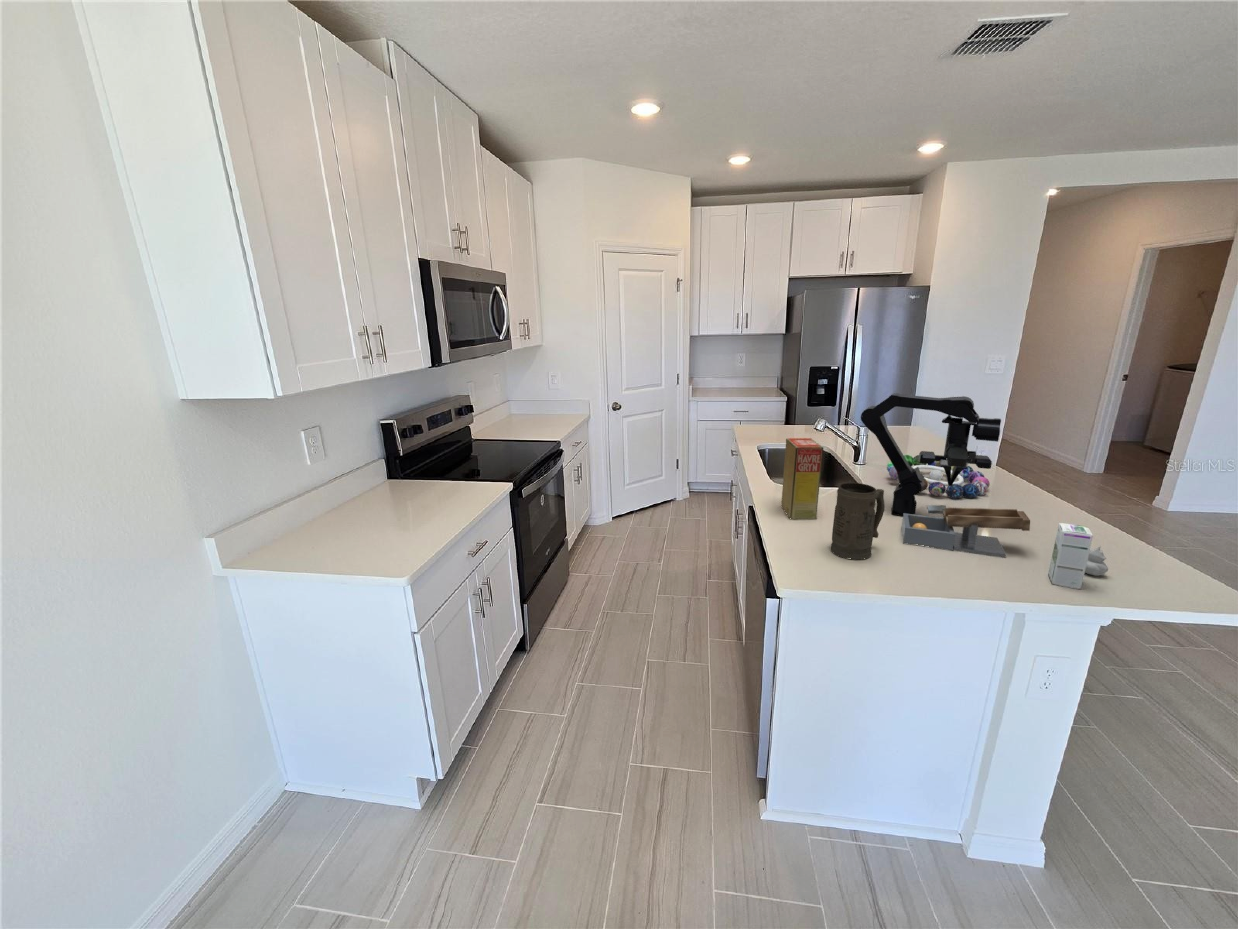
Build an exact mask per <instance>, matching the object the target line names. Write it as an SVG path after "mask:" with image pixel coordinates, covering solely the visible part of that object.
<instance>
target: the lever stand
mask: <svg viewBox="0 0 1238 929" xmlns="http://www.w3.org/2000/svg"><path fill="white" fill-rule="evenodd" d="M978 530H979V528H978V524H971V525H970V527H962V532H956V531H954V532H955V540H954V546H953V551H954V550H955V551H956V552H961V551H964V552H963V553H968V552H969V553H970V554H976V555H984V556H989V557H991V556H992V557H998V558H1002V559H1003V558H1005V559H1006V558H1007V554H1006V552H1005V549H1004V548H1003V546H1002V544H1001V542H1000V540H999V538H998V537H995V536H988V535H987V536H986V535H979V534H978ZM969 553H968V554H969Z"/></svg>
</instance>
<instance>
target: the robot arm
mask: <svg viewBox="0 0 1238 929" xmlns="http://www.w3.org/2000/svg"><path fill="white" fill-rule="evenodd" d="M896 407H899V408H905V409H906V408H908V409H915V410H925V411H932V412H934V411H935V412H940V413H942V414H945V415H947V416H946V417H944V418H942V421H941V423H942V424H948V426H947V431H946V432H947V433H946V439H945V446H944V451H943V455H939V454H936V453H935V452H934V451H928V450H921V451H920V452H919V453H918V455H919V462H920V463H925V464H926V465H928V464H932V463H934V462H935V461H939V465H940V467H942V468H944V470H945V473H944V474H945V475H946V477H945V478H946V482H948V486H952V484H953V482H956V479H957V476H958V475H959V473H960V472H961V471H962V470H964V469H968V467H967V466H969V464H971V465H975V466H977V468H978V469H985V470H986V469H988V470H989V469H991V468H992V464H993V461H992V460H991V458H990V456H988V455H981V454H980V455H979V454H977V451H974V450H968V444H969V437H970V432H971V426H973V427H972V434H971V436H972V437H973V438H975V440H977V441H987V442H996V443H997V442H999V439H1000V435H1001V423H1002V419H1001V418H989V417H985V418H984V417H980V416H979V413H977V410H975V402H974V401H973V399H972V398H970V397H968V396H964V395H963V396H950V397H931V396H923V395H922V396H921V395H912V394H902V393H899V392H894V393H892V394H891V395H889V396H888V397H887V398H886V399H884V400H882V401H881V402H880V403H878V404H876V405H871V406H870V405H869V406H868V407H867V408H866V409H865V410H863V411H862V413H861V414H860V421H861V422H862V423H863V425H864V426H865V427H866V428H867V429H868V430H869V431H870V432H871V433H872V434H873V435H874V436H875V437H876V439H877V440H878V442H879V443H880V444H879V445H880V446H881V447H882V449H883V450H884V452H885V454H886V455H887V458H888V459H889V460H890V461H889V462H892V464H893V466H894V467H895V469H896V471H897V474H898V478H899V482H900V483H899V482H898V485H897V486H896V488H895V489H894V490H893V497H892V504H891V507H890V509H891V510H890V514H891V515H893V516H900V517H903V513H906V514H914V515H916V511H917V503H918V502H917V500H916V496H917V495H918V494H920V493H921V492H922V491H921V489H922V487H923V485H924V480H923V479H924V477H925V476H924V475H923V474H922V473H921V471H920V470H921V469H919V468H918V467H917V468H915V469H914V468H912V467H913V466H912V467H911V466H910V465H909V464H908V462H907V460H906V459H905V457H904V455H905V454H903V452H902V450H901V448H900V447H899V446H898V443H897V442H896V440H895V438H894V437H893V435H892V433H891V432H890V430H889V428H888V425H887V420H886V416H885V414H887V413H888V412H890V411H891V410H892V409H894V408H896ZM963 419H965V420H963ZM951 466H954V467H953V471H952V475H951ZM948 486H947V487H948Z"/></svg>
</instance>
